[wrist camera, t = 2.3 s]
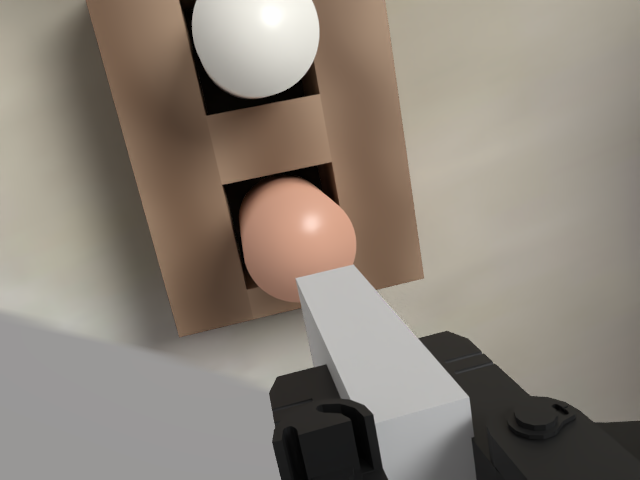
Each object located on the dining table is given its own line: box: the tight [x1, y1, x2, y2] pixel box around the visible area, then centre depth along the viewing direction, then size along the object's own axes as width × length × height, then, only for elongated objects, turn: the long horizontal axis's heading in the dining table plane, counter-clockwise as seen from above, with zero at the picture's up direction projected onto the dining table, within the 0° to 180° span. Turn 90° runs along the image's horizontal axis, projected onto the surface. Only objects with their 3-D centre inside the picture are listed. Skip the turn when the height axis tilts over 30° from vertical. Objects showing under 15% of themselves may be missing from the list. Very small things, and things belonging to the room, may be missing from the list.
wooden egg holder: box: [86, 0, 424, 337], centre depth 26 cm, size 12×16×4 cm
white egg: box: [192, 0, 319, 99], centre depth 22 cm, size 4×4×6 cm
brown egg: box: [239, 174, 356, 302], centre depth 24 cm, size 4×4×6 cm
